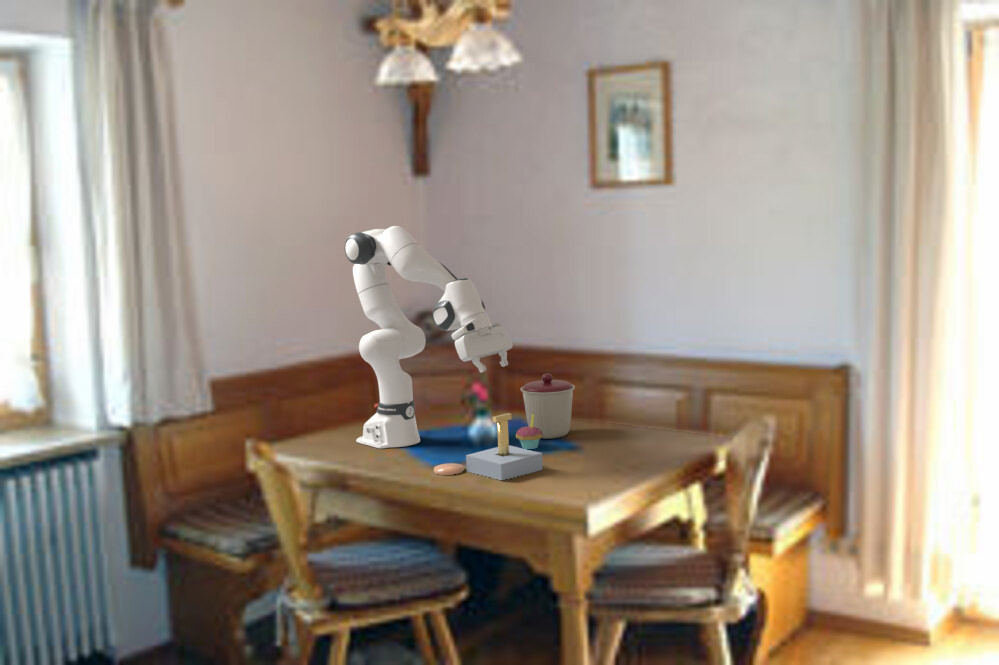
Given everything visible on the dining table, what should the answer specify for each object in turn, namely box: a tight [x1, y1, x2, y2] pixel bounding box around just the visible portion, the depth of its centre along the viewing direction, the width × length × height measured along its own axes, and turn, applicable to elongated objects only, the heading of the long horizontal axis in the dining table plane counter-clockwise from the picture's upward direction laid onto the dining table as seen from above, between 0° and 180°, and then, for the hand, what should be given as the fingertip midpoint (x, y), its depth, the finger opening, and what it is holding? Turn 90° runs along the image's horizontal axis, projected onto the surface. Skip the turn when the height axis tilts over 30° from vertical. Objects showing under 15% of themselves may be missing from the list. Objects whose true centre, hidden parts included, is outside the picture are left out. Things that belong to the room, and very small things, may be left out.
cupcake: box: [515, 412, 543, 450], centre depth 332 cm, size 9×8×12 cm
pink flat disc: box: [433, 462, 465, 476], centre depth 310 cm, size 9×9×1 cm
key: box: [492, 412, 513, 457], centre depth 306 cm, size 3×6×17 cm, turn 130°
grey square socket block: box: [465, 444, 544, 481], centre depth 307 cm, size 16×16×5 cm
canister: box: [520, 373, 576, 440], centre depth 347 cm, size 18×18×21 cm
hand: (494, 368), depth 313 cm, fingers open, 8 cm apart
